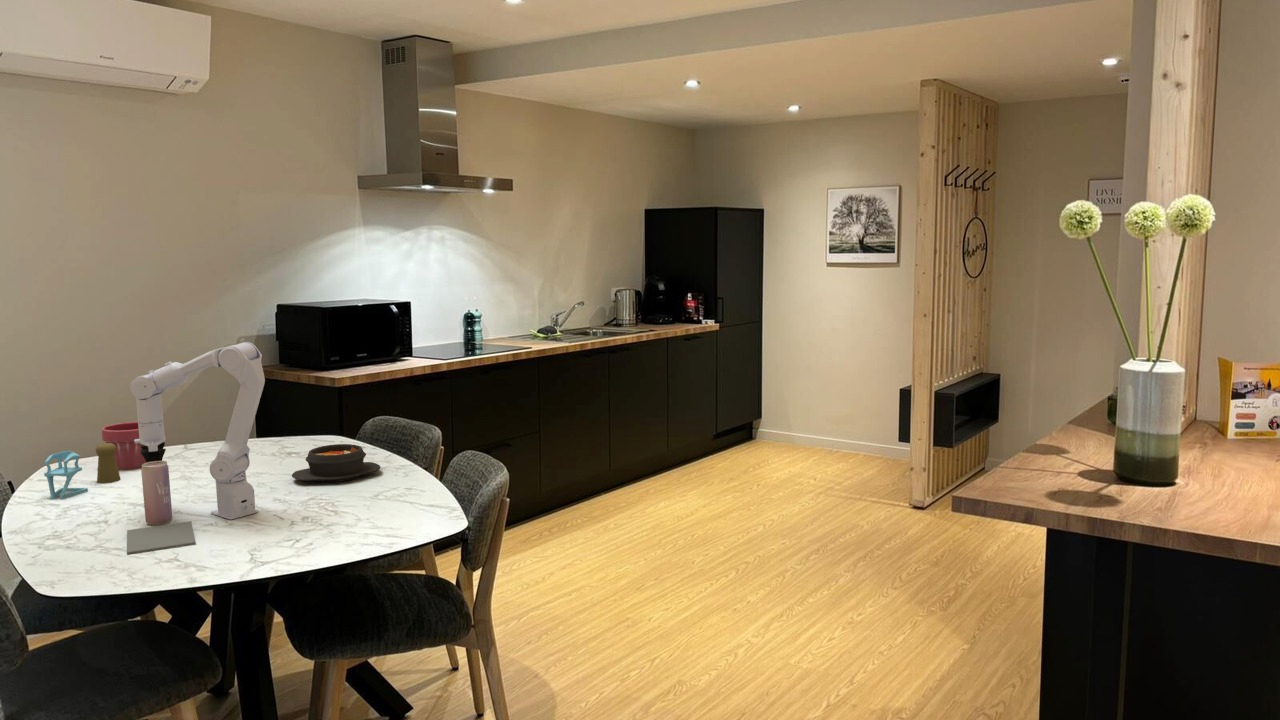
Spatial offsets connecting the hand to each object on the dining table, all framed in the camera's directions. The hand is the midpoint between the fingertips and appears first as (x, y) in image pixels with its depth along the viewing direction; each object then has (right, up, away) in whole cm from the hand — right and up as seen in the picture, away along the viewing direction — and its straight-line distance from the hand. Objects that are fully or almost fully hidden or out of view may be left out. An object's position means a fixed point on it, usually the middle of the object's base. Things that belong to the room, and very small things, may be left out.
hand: (155, 473), depth 238 cm
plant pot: (-33, -4, +50) cm, 60 cm away
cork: (-31, -6, +33) cm, 46 cm away
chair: (-34, -8, +18) cm, 40 cm away
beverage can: (+4, -12, -6) cm, 14 cm away
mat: (+11, -13, -19) cm, 25 cm away
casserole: (+35, -6, +35) cm, 50 cm away
